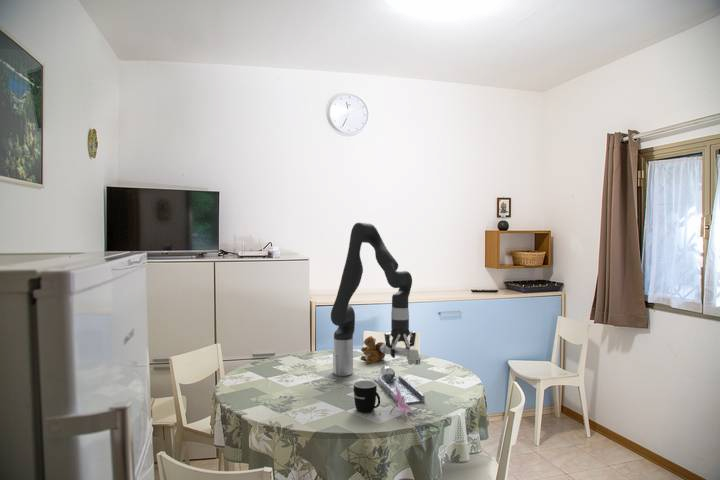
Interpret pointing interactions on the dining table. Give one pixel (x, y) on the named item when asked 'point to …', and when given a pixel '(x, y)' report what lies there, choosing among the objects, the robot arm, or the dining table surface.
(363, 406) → the mug
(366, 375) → the dining table surface
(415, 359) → the electric toothbrush
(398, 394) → the lily
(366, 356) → the stuffed squirrel
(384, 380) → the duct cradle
